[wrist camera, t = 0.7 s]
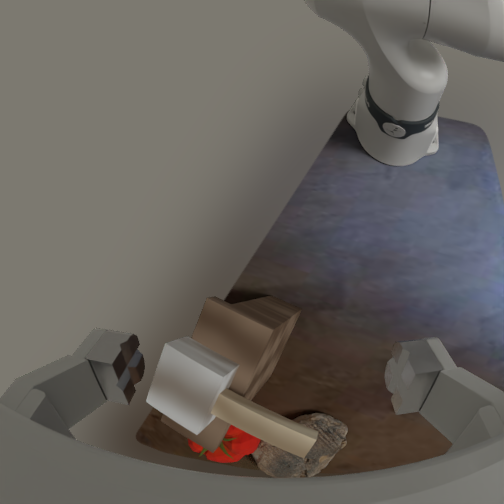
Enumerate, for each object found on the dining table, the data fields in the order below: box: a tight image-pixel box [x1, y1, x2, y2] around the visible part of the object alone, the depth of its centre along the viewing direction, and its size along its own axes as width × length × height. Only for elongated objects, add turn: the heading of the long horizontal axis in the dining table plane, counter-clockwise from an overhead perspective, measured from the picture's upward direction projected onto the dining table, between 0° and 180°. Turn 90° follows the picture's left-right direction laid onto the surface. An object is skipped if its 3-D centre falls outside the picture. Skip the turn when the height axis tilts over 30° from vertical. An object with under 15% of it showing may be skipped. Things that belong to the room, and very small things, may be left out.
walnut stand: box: [161, 296, 302, 453], centre depth 40 cm, size 16×7×26 cm, turn 157°
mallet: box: [146, 336, 318, 458], centre depth 24 cm, size 7×16×4 cm, turn 67°
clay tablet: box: [251, 413, 348, 478], centre depth 46 cm, size 14×5×20 cm
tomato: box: [188, 425, 261, 463], centre depth 47 cm, size 13×14×12 cm
